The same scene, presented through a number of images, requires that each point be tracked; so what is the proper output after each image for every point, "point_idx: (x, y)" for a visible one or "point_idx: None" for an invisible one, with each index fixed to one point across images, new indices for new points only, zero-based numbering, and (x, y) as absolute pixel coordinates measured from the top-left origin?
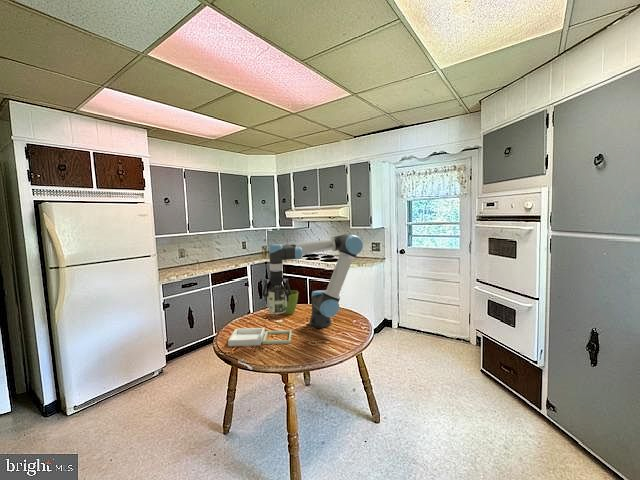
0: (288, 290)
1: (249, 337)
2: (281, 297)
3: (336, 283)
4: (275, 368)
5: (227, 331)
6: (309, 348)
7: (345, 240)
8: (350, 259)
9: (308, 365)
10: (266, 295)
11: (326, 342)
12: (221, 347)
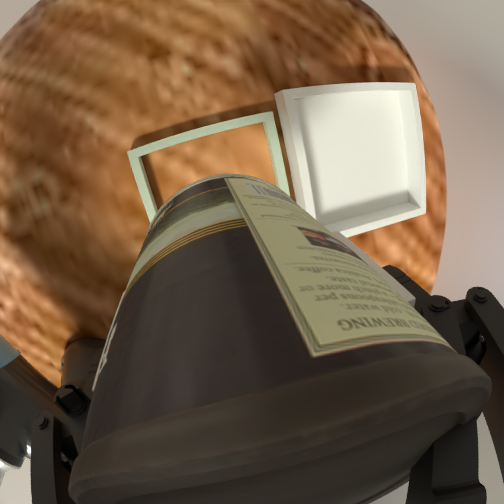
0: (47, 476)
1: (353, 168)
2: (116, 323)
3: None
4: None
5: (437, 224)
6: (37, 130)
7: None
8: None
9: (27, 12)
10: (436, 312)
11: (4, 211)
12: (415, 78)
